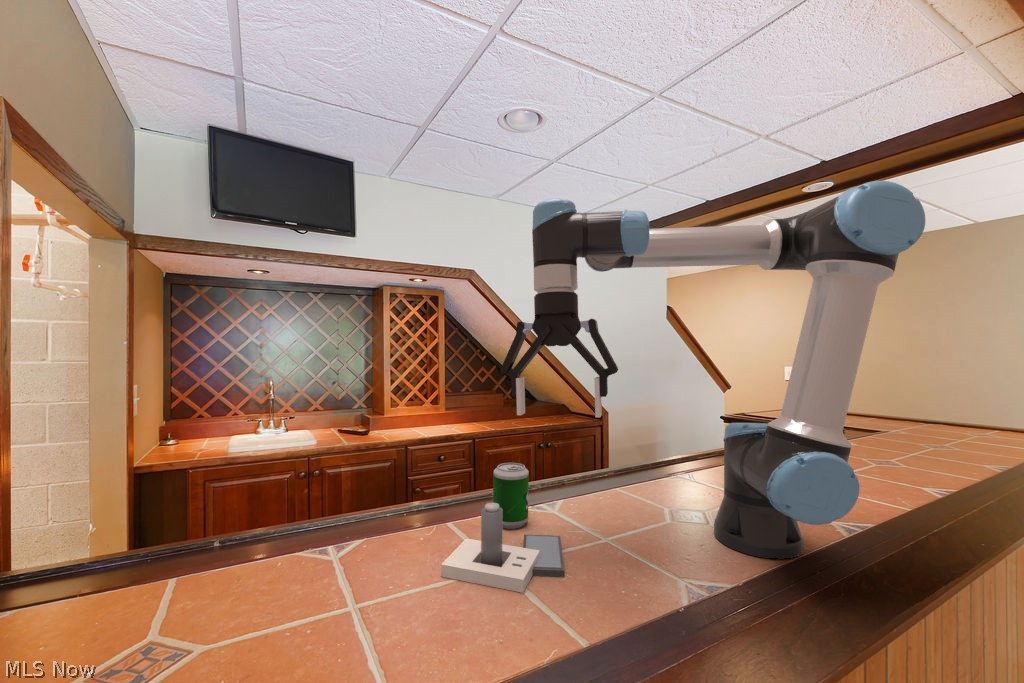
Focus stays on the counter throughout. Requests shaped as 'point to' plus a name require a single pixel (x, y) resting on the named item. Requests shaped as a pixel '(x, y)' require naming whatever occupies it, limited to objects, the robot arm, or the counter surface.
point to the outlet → (508, 577)
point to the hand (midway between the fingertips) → (558, 415)
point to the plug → (491, 534)
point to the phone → (546, 554)
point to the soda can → (511, 493)
